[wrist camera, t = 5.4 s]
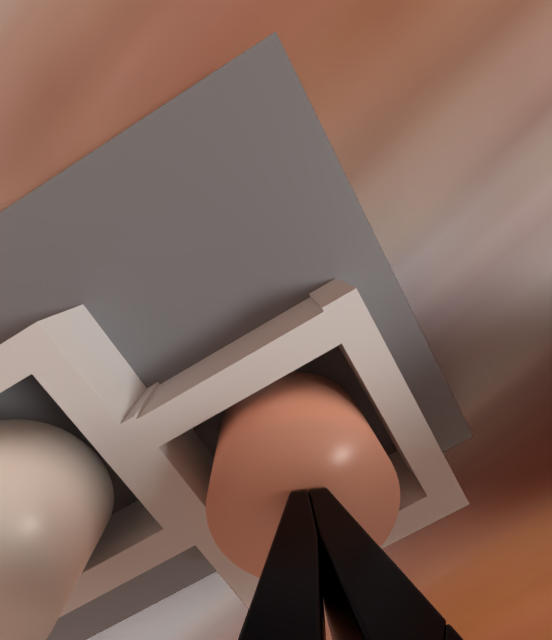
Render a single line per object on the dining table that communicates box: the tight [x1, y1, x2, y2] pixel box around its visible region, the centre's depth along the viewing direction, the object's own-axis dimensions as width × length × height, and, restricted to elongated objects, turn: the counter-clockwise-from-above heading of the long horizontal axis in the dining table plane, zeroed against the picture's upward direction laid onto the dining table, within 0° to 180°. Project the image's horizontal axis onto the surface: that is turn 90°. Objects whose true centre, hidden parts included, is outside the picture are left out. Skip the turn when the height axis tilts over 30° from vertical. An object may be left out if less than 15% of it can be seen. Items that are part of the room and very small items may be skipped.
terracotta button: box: [206, 371, 400, 578], centre depth 9 cm, size 4×4×3 cm
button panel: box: [0, 31, 473, 640], centre depth 10 cm, size 13×22×4 cm, turn 120°
